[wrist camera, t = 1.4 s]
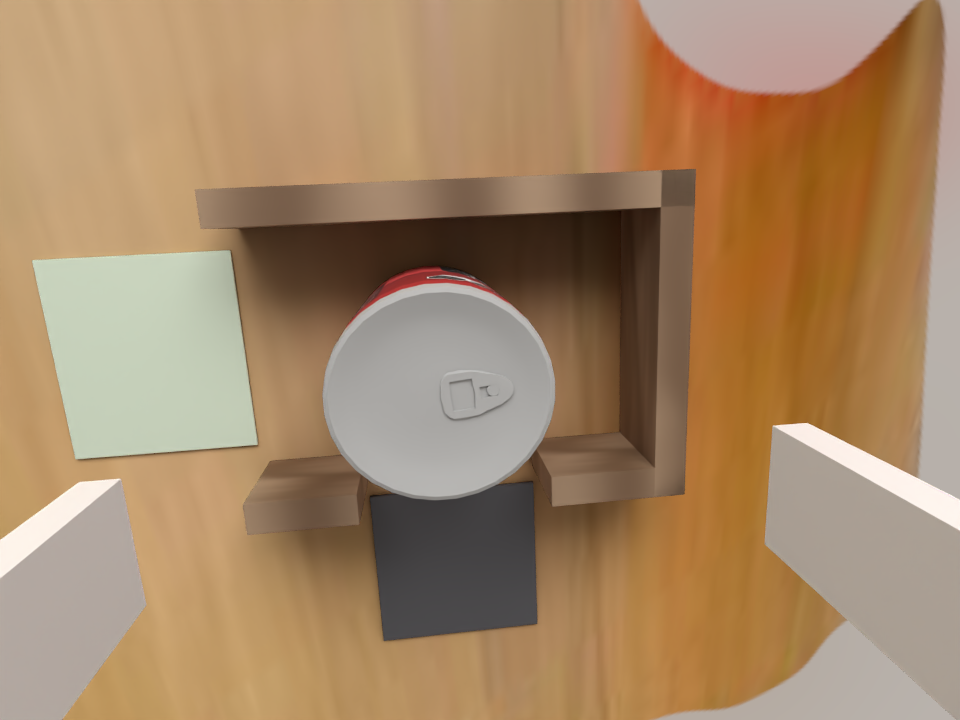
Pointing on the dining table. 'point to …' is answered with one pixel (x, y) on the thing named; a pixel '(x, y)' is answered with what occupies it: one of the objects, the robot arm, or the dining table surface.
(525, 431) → the canned food
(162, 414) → the pad
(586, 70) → the dining table surface
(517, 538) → the mat
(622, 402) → the wooden walled channel
